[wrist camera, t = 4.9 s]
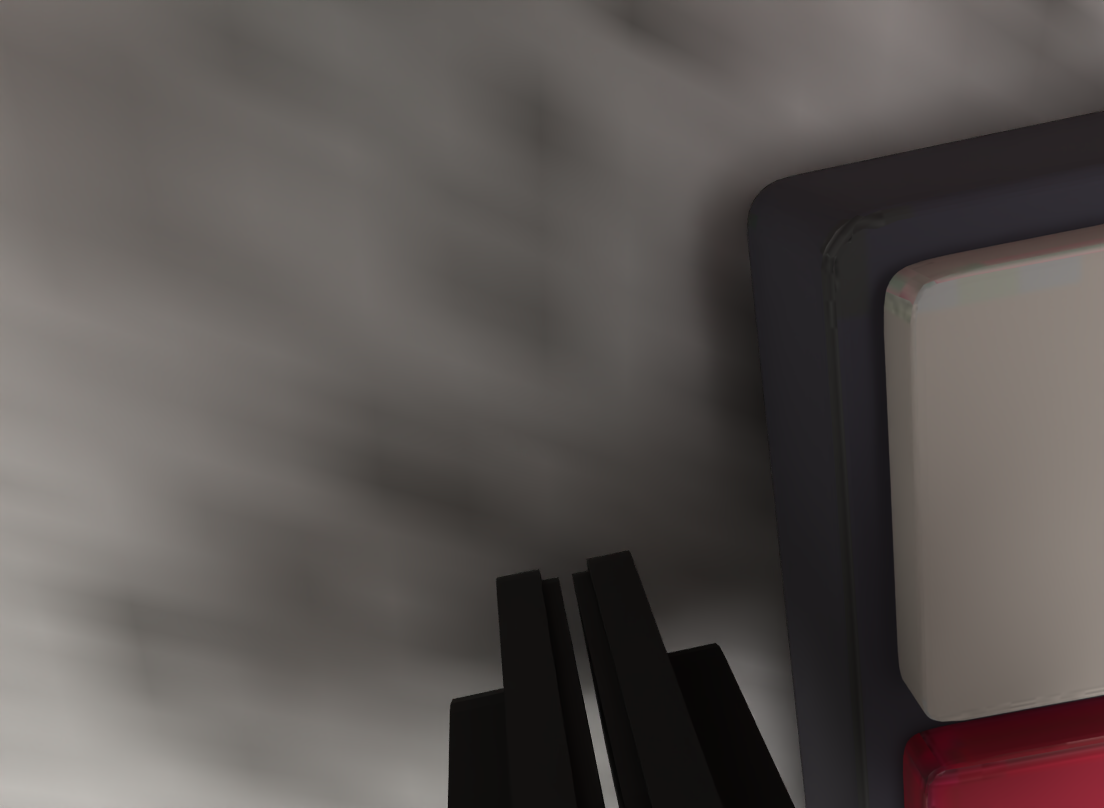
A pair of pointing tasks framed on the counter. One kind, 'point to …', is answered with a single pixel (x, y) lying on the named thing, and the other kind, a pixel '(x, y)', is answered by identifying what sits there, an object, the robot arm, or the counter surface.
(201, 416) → the counter surface
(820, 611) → the calculator
